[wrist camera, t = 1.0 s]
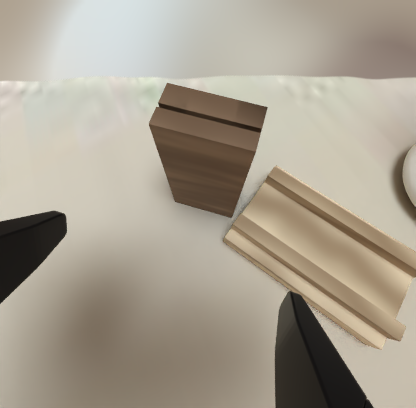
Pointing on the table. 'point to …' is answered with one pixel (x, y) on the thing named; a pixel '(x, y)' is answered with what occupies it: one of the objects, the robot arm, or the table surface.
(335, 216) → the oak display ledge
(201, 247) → the table surface
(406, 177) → the flower in vase
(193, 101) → the walnut photo frame
